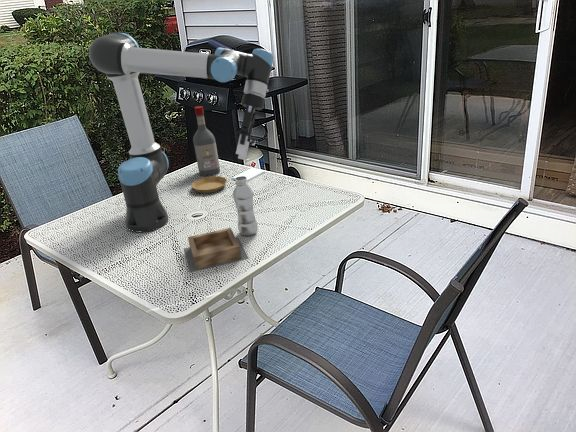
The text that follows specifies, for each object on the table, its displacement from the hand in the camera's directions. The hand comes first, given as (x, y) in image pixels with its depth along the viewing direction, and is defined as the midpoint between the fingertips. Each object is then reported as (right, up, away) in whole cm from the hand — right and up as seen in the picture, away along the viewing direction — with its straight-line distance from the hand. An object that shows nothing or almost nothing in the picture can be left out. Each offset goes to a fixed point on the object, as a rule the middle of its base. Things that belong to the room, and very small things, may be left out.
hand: (240, 157), depth 168 cm
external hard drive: (-1, -3, +49) cm, 49 cm away
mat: (-7, -32, -13) cm, 35 cm away
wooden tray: (-7, -32, -13) cm, 35 cm away
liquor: (-20, 0, +57) cm, 60 cm away
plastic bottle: (+3, -26, -2) cm, 26 cm away
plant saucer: (-17, -9, +40) cm, 44 cm away
